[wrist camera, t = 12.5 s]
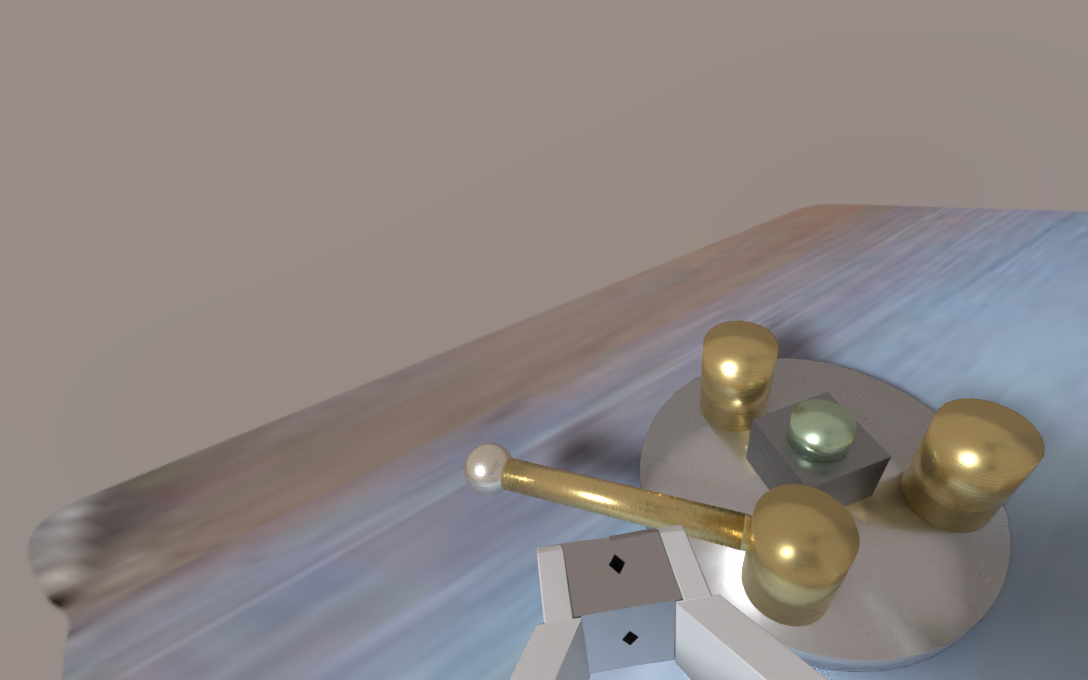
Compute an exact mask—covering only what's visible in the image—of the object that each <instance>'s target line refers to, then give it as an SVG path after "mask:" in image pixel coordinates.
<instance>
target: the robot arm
mask: <svg viewBox="0 0 1088 680" xmlns="http://www.w3.org/2000/svg"><path fill="white" fill-rule="evenodd" d="M562 546H563V549H562ZM563 554H564V555H563ZM537 558H538V568H539V577H540V587H541V597H542V606H543V616H544V623H543V624H538V625H537V626H536V628H535V630H534V632H533V634H532V636H531V638H530V640H529V642H528V644H527V646H526V648H525V650H524V652H523V654H522V656H521V658H520V660H519V662H518V664H517V666H516V668H515V670H514V672H513V674H512V676H511V678H510V680H589V679H590V674H594V673H599V672H604V671H609V670H614V669H619V668H624V667H629V666H634V665H642V664H649V663H656V662H663V661H670V660H675V662H676V663H677V665H678V666H679V667H680V668H681V669H682V670H683V671H684V672H685V673H686V674H687V675H688V677H689V678H690V679H691V680H827V679H826V678H825V677H824V676H822V675H821V674H820V673H819V672H817V671H816V670H815V669H813V668H812V667H811V666H810V665H808V664H807V663H806V662H805V661H803V660H802V659H801V658H800V657H798V656H797V655H796V654H794V653H793V652H792V651H791V650H789V649H788V648H787V647H786V646H784V645H783V644H782V643H781V642H779V641H778V640H777V639H775V638H774V637H773V636H772V635H770V634H769V633H768V632H767V631H765V630H764V629H763V628H762V627H760V626H759V625H758V624H757V623H755V622H754V621H753V620H751V619H750V618H749V617H748V616H746V615H745V614H744V613H743V612H741V611H740V610H739V609H738V608H736V607H735V606H734V605H732V604H731V603H730V602H729V601H727V600H726V599H725V598H724V597H722V596H721V595H720V594H718V595H712V594H711V591H710V589H709V587H708V584H707V582H706V579H705V577H704V575H703V572H702V570H701V567H700V565H699V563H698V560H697V558H696V555H695V553H694V551H693V548H692V546H691V543H690V541H689V539H688V536H687V534H686V531H685V529H684V528H683V527H682V526H681V525H675V526H668V527H662V528H657V529H655V528H653V529H647V530H642V531H636V532H631V533H625V534H619V535H614V536H609V537H608V538H600V539H593V540H586V541H578V542H571V543H563V544H557V545H550V546H544V547H538V548H537ZM564 560H565V561H564ZM565 567H566V568H565Z"/></svg>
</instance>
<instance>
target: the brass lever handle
mask: <svg viewBox="0 0 1088 680" xmlns="http://www.w3.org/2000/svg"><path fill="white" fill-rule="evenodd" d="M464 477H465V480H466V482H467V484H468V485H469V487H470V488H471V489H472V490H474V491H475V492H477V493H479V494H481V495H486V496H492V495H496V494H499V493H501V492H503V491H504V490H509V491H513V492H517V493H520V494H524V495H528V496H532V497H536V498H540V499H543V500H547V501H551V502H555V503H559V504H563V505H567V506H570V507H574V508H578V509H582V510H586V511H590V512H593V513H597V514H601V515H605V516H609V517H613V518H617V519H620V520H624V521H628V522H632V523H636V524H640V525H643V526H647V527H651V528H655V529H657V528H662V527H668V526H675V525H681V526H682V527H683V528H684V529H685V531H686V534H687V536H688V537H690V538H693V539H697V540H701V541H705V542H709V543H713V544H717V545H720V546H724V547H728V548H732V549H736V550H740V551H745V553H744V558H743V563H742V568H741V581H742V585H743V588H744V591H745V593H746V595H747V597H748V599H749V600H750V602H751V603H752V604H753V605H754V607H755V608H756V609H757V610H758V611H759V612H761V613H762V614H763V615H764V616H766V617H767V618H769V619H771V620H773V621H775V622H777V623H780V624H783V625H787V626H794V627H799V626H807V625H810V624H813V623H815V622H817V621H818V620H819V619H821V618H822V617H823V616H824V615H825V613H826V612H827V610H828V608H829V606H830V605H831V603H832V601H833V599H834V597H835V595H836V593H837V592H838V590H839V588H840V586H841V584H842V582H843V580H844V578H845V577H846V575H847V573H848V571H849V569H850V567H851V565H852V564H853V562H854V560H855V558H856V556H857V553H858V550H859V544H860V538H859V532H858V528H857V526H856V523H855V521H854V519H853V518H852V516H851V515H850V513H849V512H848V510H847V509H846V508H845V507H844V506H843V505H842V504H841V503H840V502H839V501H837V500H836V499H835V498H833V497H832V496H830V495H829V494H827V493H825V492H823V491H821V490H819V489H816V488H814V487H810V486H806V485H800V484H787V485H781V486H778V487H775V488H773V489H770V490H769V491H767V492H766V493H765V494H763V495H762V496H761V498H760V499H759V500H758V502H757V503H756V505H755V508H754V512H753V516H751V515H749V514H747V513H743V512H739V511H735V510H730V509H726V508H722V507H718V506H713V505H709V504H705V503H701V502H696V501H692V500H688V499H684V498H679V497H675V496H671V495H667V494H663V493H658V492H654V491H650V490H646V489H641V488H637V487H633V486H629V485H624V484H620V483H616V482H612V481H607V480H603V479H599V478H595V477H590V476H586V475H582V474H578V473H573V472H569V471H565V470H561V469H556V468H552V467H548V466H544V465H539V464H535V463H531V462H527V461H522V460H518V459H514V458H513V457H512V455H511V454H510V452H509V451H508V450H507V449H506V448H504V447H503V446H501V445H499V444H496V443H484V444H481V445H479V446H477V447H475V448H474V449H473V450H472V451H471V452H470V453H469V454H468V456H467V458H466V460H465V463H464Z"/></svg>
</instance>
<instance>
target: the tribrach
mask: <svg viewBox="0 0 1088 680" xmlns="http://www.w3.org/2000/svg"><path fill="white" fill-rule="evenodd" d="M778 350H779V346H778V342H777V340H776V338H775V336H774V335H773V334H772V333H771V332H770V331H769V330H767V329H766V328H764V327H762V326H760V325H758V324H755V323H751V322H746V321H729V322H724V323H721V324H718V325H716V326H714V327H713V328H712V329H710V330H709V331H708V332H707V334H706V335H705V338H704V342H703V357H702V373H701V376H700V377H698V378H696V379H695V380H693V381H691V382H689V383H688V384H687V385H685V386H684V387H683V388H681V389H680V390H679V391H677V392H676V393H675V394H674V395H673V396H672V397H671V398H670V399H669V400H668V401H667V402H666V403H665V404H664V406H663V407H662V408H661V410H660V411H659V412H658V414H657V415H656V416H655V418H654V420H653V422H652V424H651V426H650V428H649V430H648V432H647V435H646V438H645V441H644V444H643V449H642V454H641V459H640V488H641V489H646V490H650V491H654V492H658V493H663V494H667V495H671V496H675V497H679V498H684V499H688V500H692V501H696V502H701V503H705V504H709V505H713V506H718V507H722V508H726V509H730V510H735V511H739V512H743V513H747V514H749V515H751V516H753V512H754V508H755V505H756V503H757V502H758V500H759V499H760V498H761V496H762V495H763V494H765V493H766V492H767V491H769V490H770V489H773V488H775V487H778V486H781V485H787V484H800V485H806V486H810V487H814V488H816V489H819V490H821V491H823V492H825V493H827V494H829V495H830V496H832V497H833V498H835V499H836V500H837V501H839V502H840V503H841V504H842V505H843V506H844V507H845V508H846V509H847V510H848V512H849V513H850V515H851V516H852V518H853V519H854V521H855V523H856V526H857V528H858V532H859V538H860V544H859V550H858V553H857V556H856V558H855V560H854V562H853V564H852V565H851V567H850V569H849V571H848V573H847V575H846V577H845V578H844V580H843V582H842V584H841V586H840V588H839V590H838V592H837V593H836V595H835V597H834V599H833V601H832V603H831V605H830V606H829V608H828V610H827V612H826V613H825V615H824V616H823V617H822V618H821V619H819V620H818V621H817V622H815V623H813V624H810V625H807V626H799V627H794V626H787V625H783V624H780V623H777V622H775V621H773V620H771V619H769V618H767V617H766V616H764V615H763V614H762V613H761V612H759V611H758V610H757V609H756V608H755V607H754V605H753V604H752V603H751V602H750V600H749V599H748V597H747V595H746V593H745V591H744V588H743V585H742V581H741V568H742V563H743V558H744V553H745V551H740V550H736V549H732V548H728V547H724V546H720V545H717V544H713V543H709V542H705V541H701V540H697V539H693V538H690V537H688V539H689V541H690V543H691V546H692V548H693V551H694V553H695V555H696V558H697V560H698V563H699V565H700V567H701V570H702V572H703V575H704V577H705V579H706V582H707V584H708V587H709V589H710V591H711V594H712V595H718V594H720V595H721V596H722V597H724V598H725V599H726V600H727V601H729V602H730V603H731V604H732V605H734V606H735V607H736V608H738V609H739V610H740V611H741V612H743V613H744V614H745V615H746V616H748V617H749V618H750V619H751V620H753V621H754V622H755V623H757V624H758V625H759V626H760V627H762V628H763V629H764V630H765V631H767V632H768V633H769V634H770V635H772V636H773V637H774V638H775V639H777V640H778V641H779V642H781V643H782V644H783V645H784V646H786V647H787V648H788V649H789V650H791V651H792V652H793V653H794V654H796V655H797V656H798V657H800V658H801V659H802V660H803V661H805V662H806V663H807V664H808V665H810V666H814V667H818V668H822V669H830V670H839V671H848V672H869V671H884V670H889V669H895V668H901V667H906V666H909V665H912V664H915V663H918V662H920V661H923V660H926V659H929V658H931V657H933V656H934V655H936V654H938V653H940V652H941V651H943V650H945V649H947V648H949V647H950V646H951V645H952V644H954V643H955V642H956V641H957V640H958V639H959V638H961V637H962V636H963V635H964V634H965V633H966V632H968V631H969V630H970V629H971V628H972V627H973V626H974V625H975V624H976V623H977V622H978V621H979V620H981V619H982V618H983V616H984V615H985V614H986V613H987V611H988V610H989V609H990V607H991V606H992V605H993V603H994V602H995V601H996V599H997V597H998V595H999V593H1000V591H1001V588H1002V586H1003V584H1004V582H1005V580H1006V575H1007V571H1008V566H1009V562H1010V546H1011V536H1010V530H1009V523H1008V517H1007V513H1006V510H1005V507H1004V504H1005V503H1006V501H1007V500H1008V499H1009V498H1010V497H1011V495H1012V494H1013V493H1014V492H1015V491H1016V489H1017V488H1018V487H1019V486H1020V485H1021V483H1022V482H1023V481H1024V480H1025V479H1026V477H1027V476H1028V475H1029V474H1030V472H1031V471H1032V470H1033V469H1034V468H1035V466H1036V465H1037V464H1038V463H1039V462H1040V460H1041V459H1042V457H1043V455H1044V443H1043V440H1042V438H1041V436H1040V434H1039V432H1038V431H1037V430H1036V429H1035V427H1034V426H1033V425H1032V424H1031V423H1030V422H1029V421H1027V420H1026V419H1025V418H1024V417H1022V416H1021V415H1019V414H1018V413H1016V412H1015V411H1013V410H1011V409H1009V408H1007V407H1004V406H1002V405H1000V404H997V403H994V402H990V401H986V400H980V399H958V400H953V401H950V402H948V403H946V404H944V405H943V406H941V407H940V408H939V409H938V411H937V413H935V412H933V411H932V410H931V409H929V408H928V407H927V406H925V405H924V404H922V403H921V402H919V401H918V400H916V399H914V398H913V397H911V396H910V395H908V394H906V393H905V392H903V391H901V390H899V389H897V388H895V387H893V386H892V385H890V384H888V383H885V382H883V381H881V380H878V379H876V378H874V377H872V376H869V375H866V374H863V373H861V372H858V371H855V370H852V369H849V368H845V367H841V366H837V365H833V364H829V363H824V362H818V361H812V360H803V359H791V358H777V355H778ZM647 529H653V528H651V527H647Z"/></svg>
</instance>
